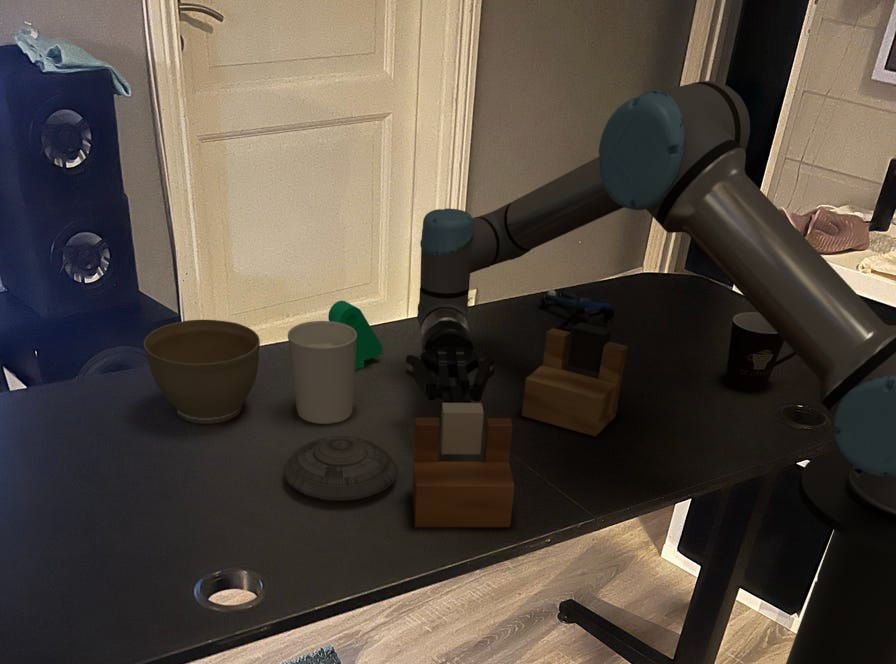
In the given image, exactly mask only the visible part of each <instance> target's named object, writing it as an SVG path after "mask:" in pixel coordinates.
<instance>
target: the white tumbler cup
mask: <svg viewBox="0 0 896 664" xmlns="http://www.w3.org/2000/svg"><path fill="white" fill-rule="evenodd" d="M287 339H288V346H289V356H290V363H291V373H292V382H293V391H294V399H295V408H296V412H297V415H298V417H300V418H301V419H302V420H304V421H306V422H309V423H312V424H318V425H330V424H336V423H341V422H343V421H346V420H348V419H349V418H350V417H351V416H352V414H353V410H354V400H355V399H354V397H355V396H354V395H355V379H356V377H355V376H356V369H355V359H356V340H357V333H356V331H355V330H354V329H353V328H352V327H350V326H348V325H346V324H343V323H339V322H333V321H329V320H313V321H305V322H302V323H298V324H296V325H294V326H293V327H292V328H290V329H289V330H288V332H287Z"/></svg>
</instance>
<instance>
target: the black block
mask: <svg viewBox="0 0 896 664" xmlns="http://www.w3.org/2000/svg"><path fill="white" fill-rule="evenodd" d="M611 333H612V329H611V328H607V327H603V326H598V325H594V324H590V323H586V322H581V321H580V322H579V323H577V324H576V325H574V327H572V333H571V340H570V347H569V356H568V363H567V365H568V366H570V367H574V368H577V369H581V370H586V371H589V372H593V373H594V372H595V373H597V374H599V372H600V365H601V359H602V352H603V346H604V345H605V344H606V343H608V342H611V335H612V334H611Z"/></svg>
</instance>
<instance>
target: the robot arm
mask: <svg viewBox="0 0 896 664" xmlns="http://www.w3.org/2000/svg"><path fill="white" fill-rule="evenodd" d="M750 134H751V121H750V114H749V111H748V108H747V105H746V104H745V102H744V100H743V99H742V97H741V95H739V94H738V92H736V91H735V90H734V89H733V88H731V87H730V86H728V85H727V84H724V83H721V82H718V81H713V80H703V81H696V82H692V83H688V84H684V85H678V86H675V87H674V86H673V87H670V88H665V89H661V90H658V89H657V90H648V91H645V92H643V93H641V94H638V96H635V97H633V98H630V99H628V100H626V101H625V102H623V103H622V104H621V105H620V106H619V107H617V109H615V111H614V112H613V113H612V114H611V116H610V117H609V118H608V120H607V122H606V124H605V125H604V128H603V131H602V133H601V136H600V140H599V145H598V151H597V152H598V156H597V157H595V158H594V159H591V160H589V161H588V162H586V163H583V164H582V165H580V166H578V167H576V168H574V169H572V170H570V171H567V173H565V174H563V175H561V176H559V177H557V178H555V179H553V180H552V181H549V182H547V183H545V184H543V185H542V186H539V187H537V188H536V189H533V190H531V191H530V192H528V193H526V194H524V195H523V196H521V197H518V198H517V199H515V200H513V201H511V202H509V203H507V204H505V205H503V206H501V207H499V208H496V209H495V210H493V211H490V212H487V213H485V214H482V215H479V216H474V217H473V216H472V215H471V214H470V213H469V212H467V211H465V210H462V209H457V208H442V209H441V208H437V209H433V210H430V211H429V212H427V213H426V214H425V215H424V217H423V220H422V229H421V239H420V242H419V243H420V245H419V246H420V276H419V277H420V278H419V279H420V282H419V284H420V286H419V297H418V298H419V300H418V304H417V314H416V316H417V322H418V325H419V331H420V343H421V353H420V355H419V356H418V357H417V356H415V355H413V354H408V355H406V357H405V358H406V359H405V374H406V375H408V376H409V377H411V378H413V379H414V381H415V383H416V385H417V386H418V387H419V389H420V390H421V392H422V393H423V395H424V396H425V398H426V400H428V401H436V400H437V399H439V400H440V403H439V406H440V407H441V408H442V403H472V401H474V402H480V401H481V400H482V398H483V396H484V392H485V389H486V386H487V383H488V380H489V379H490V378H491V377H493V376H494V375H495V365H496V357H495V356H493V355H489V356H486V357H482V358H480V354H479V353H478V352H476V351H475V346H474V342H473V339H472V333H471V329H470V325H469V321H468V320H469V319H468V308H469V293H470V282H471V281H470V280H471V274H472V273H475V272H478V271H481V270H484V269H487V268H490V267H493V266H496V265H498V264H501V263H504V262H508V261H512V260H516V259H517V258H520V257H523V256H524V255H526V254H527V253H529V252H530V251H531V250H534V249H535V248H537V247H539V246H542V245H544V244H546V243H548V242H550V241H553V240H555V239H557V238H559V237H562V236H564V235H566V234H568V233H571V232H573V231H575V230H577V229H580V228H581V227H584V226H586V225H588V224H591V223H593V222H595V221H597V220H599V219H601V218H604V217H606V216H608V215H611V214H613V213H615V212H617V211H620V210H622V209H624V208H625V209H628V210H634V211H645V210H646V211H647V212H648V214H649V215H651V217H652V218H653V219H654V220H655V221H656V222H657V223H658V224H659V226H661V228H662V229H663V230H664V231H665V232H666V233H669V234H673V233H676V234H677V233H684V234H687V235H688V236H689V237H690V238H691V239H692V240H693V241H694V243H695V244H696V245H697V246H698V247H699V248H700V249H701V250H702V251H703V252H704V254H705V255H706V256H707V257H708V258H709V259H710V260H711V261H712V263H714V264H715V266H716V267H717V268H718V269H719V270H720V271H721V272H722V273H723V275H724V276H725V277H726V278H727V279H728V280H729V281H730V282H731V284H733V285H734V287H735V288H736V290H738V291H739V292H740V293H741V294H742V296H743V297H744V298H745V299H746V300H747V301H748V302H749V303H750V304H751V306H752V307H753V308H754V309H755V310H756V311H757V312H758V313H760V314H761V315H762V316H763V317H764V318H765V319H766V321H767V322H768V323H769V324H770V325H771V326H772V327H773V328H774V329H775V331H776V332H777V333H778V334H779V335H780V336H781V337H782V338H783V339H784V342H785V343H786V344H787V345H788V346H789V348H790V349H792V351H793V352H794V351H795V353H796V355H797V356H798V357H799V359H800V360H802V362H803V363H804V364H805V365H806V366H807V367H808V368H809V369H810V371H812V372H813V374H814V375H815V376H816V377H817V378H818V379H819V381H820V391H819V401H820V403H821V404H822V405H823V406H824V407H825V408H826V409H827V411H828V412H829V413H830V414H831V416H833V423H832V424H833V428H834V431H833V437H834V441H835V444H836V446H837V449H839V450H840V451H841V453H842V454H843V455H844V457H845V458H846V459H847V460H848V461H849V462H850V463H852V464H853V465H852V467H851V469H850V472H849V475H848V478H847V480H846V488H847V491H848V493H849V494H850V496H851V497H852V498H853V499H854V500H855V501H856V502H857V503H859V504H860V505H861V506H863V507H864V508H866V509H867V510H869V511H871V512H873V513H875V514H877V515H879V516H882V517H884V518H887V519H890V520H893V521H896V325H889V324H886V323H885V322H883V320H882V319H881V318H880V317H879V316H878V315H877V314H876V312H874V310H873V309H871V307H870V306H869V305H868V304H867V303H866V302H865V301H864V300H863V299H862V298H861V297H860V295H858V294H857V292H856V291H855V290H854V289H853V288H852V287H851V285H849V284H848V283H847V282H846V281H845V279H844V278H843V277H842V276H841V275H840V273H838V272H837V271H836V269H835V268H833V267H832V266H831V264H830V263H829V262H828V261H827V260H826V259H825V258H824V257H823V256H822V255H821V253H820V252H819V251H817V249H816V248H815V247H814V246H813V245H812V244H811V243H810V242H809V241H808V239H807V238H805V236H804V235H803V234H802V233H801V232H800V231H799V230H798V228H796V227H795V226H794V225H793V223H791V221H790V220H789V219H788V218H787V217H786V216H785V215H784V214H783V212H781V210H780V209H778V208H777V206H776V205H775V204H774V203H773V202H772V200H770V198H768V196H767V195H765V193H764V192H763V191H762V190H761V189H760V188H759V187H758V186H757V185H756V184H755V182H754V181H753V180H751V178H750V177H749V176H748V175H747V174H746V170H745V166H746V158H747V157H746V155H747V153H746V150H747V147H748V144H749V140H750ZM475 370H477V371H476V374H475V376H474V379H473V383H472V384H470V381H471V379H470V378H469V374H470V373H472V372H473V371H475ZM432 374H433V375H434V376H436V379H435V377H434V376H433V375H432ZM451 378H454V382H455V385H451V381H450V379H451Z"/></svg>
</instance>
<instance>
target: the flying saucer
mask: <svg viewBox="0 0 896 664" xmlns="http://www.w3.org/2000/svg"><path fill="white" fill-rule="evenodd" d="M397 475H398V467H397V465H396V463H395V460H394V459H393V458H392V457H391V455H389V453H388V452H387V451H386V450H385V449H384V448H382V447H381V446H379V445H377V444H375V443H374V442H371V441H369V440H366V439H362V438H359V437H355V436H346V435H335V436H327V437H322V438H319V439H315V440H313V441H310V442H308V443H306V444H304V445H303V446H301V447H300V448H298V449H297V450H296V451H294V453H293V454H292V455H291V456H290V457H289V458H288V460H287V462H286V463H285V465H284V469H283V476H284V478H285V480H286V482H287V483H288V484H289V485H290V486H291V487H292V488H293V489H295V490H296V491H298V492H300V493H301V494H304V495H306V496H308V497H312V498H316V499H321V500H326V501H338V502H339V501H342V502H343V501H354V500H355V501H356V500H360V499H365V498H369V497H371V496H374V495H377V494H380V493H381V492H383V491H385V490H386V489H388V488H389V487H390V486H391V485H393V483H394V481H396V479H397V477H398V476H397Z"/></svg>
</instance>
